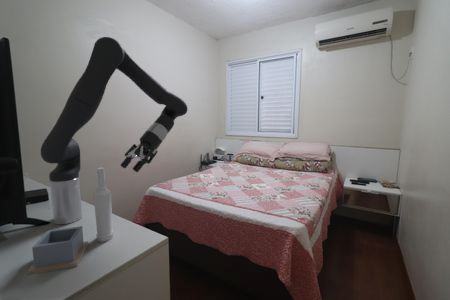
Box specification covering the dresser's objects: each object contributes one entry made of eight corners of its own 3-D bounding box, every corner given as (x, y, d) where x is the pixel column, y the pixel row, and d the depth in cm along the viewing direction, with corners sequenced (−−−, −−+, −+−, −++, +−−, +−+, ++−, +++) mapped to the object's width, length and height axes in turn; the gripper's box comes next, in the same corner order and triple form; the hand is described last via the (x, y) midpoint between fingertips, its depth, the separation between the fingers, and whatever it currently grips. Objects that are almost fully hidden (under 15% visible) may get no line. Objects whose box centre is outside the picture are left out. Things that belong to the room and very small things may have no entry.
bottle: (93, 240, 72) (87, 169, 68) (106, 232, 76) (101, 165, 73) (104, 243, 70) (99, 170, 66) (117, 235, 75) (113, 167, 71)
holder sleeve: (48, 249, 66) (45, 229, 65) (88, 244, 69) (86, 224, 68) (28, 274, 56) (25, 250, 55) (76, 266, 59) (74, 243, 58)
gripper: (138, 129, 87) (111, 160, 79) (159, 131, 78) (131, 166, 71) (149, 141, 92) (125, 171, 84) (171, 144, 83) (146, 177, 76)
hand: (128, 168), depth 77 cm, fingers open, 8 cm apart
